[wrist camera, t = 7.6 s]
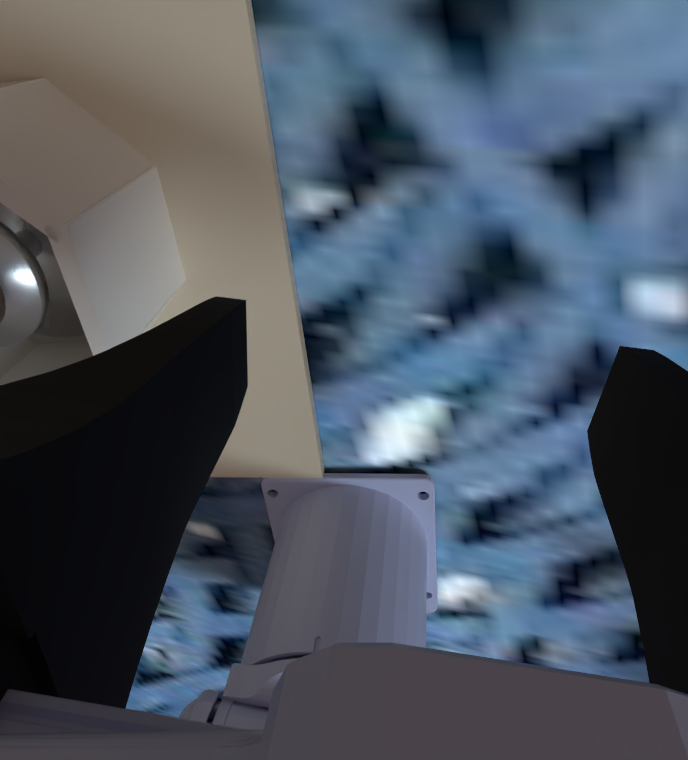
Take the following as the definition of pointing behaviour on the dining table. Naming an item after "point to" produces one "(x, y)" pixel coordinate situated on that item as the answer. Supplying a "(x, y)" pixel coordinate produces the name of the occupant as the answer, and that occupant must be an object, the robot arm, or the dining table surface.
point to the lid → (31, 285)
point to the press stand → (157, 194)
